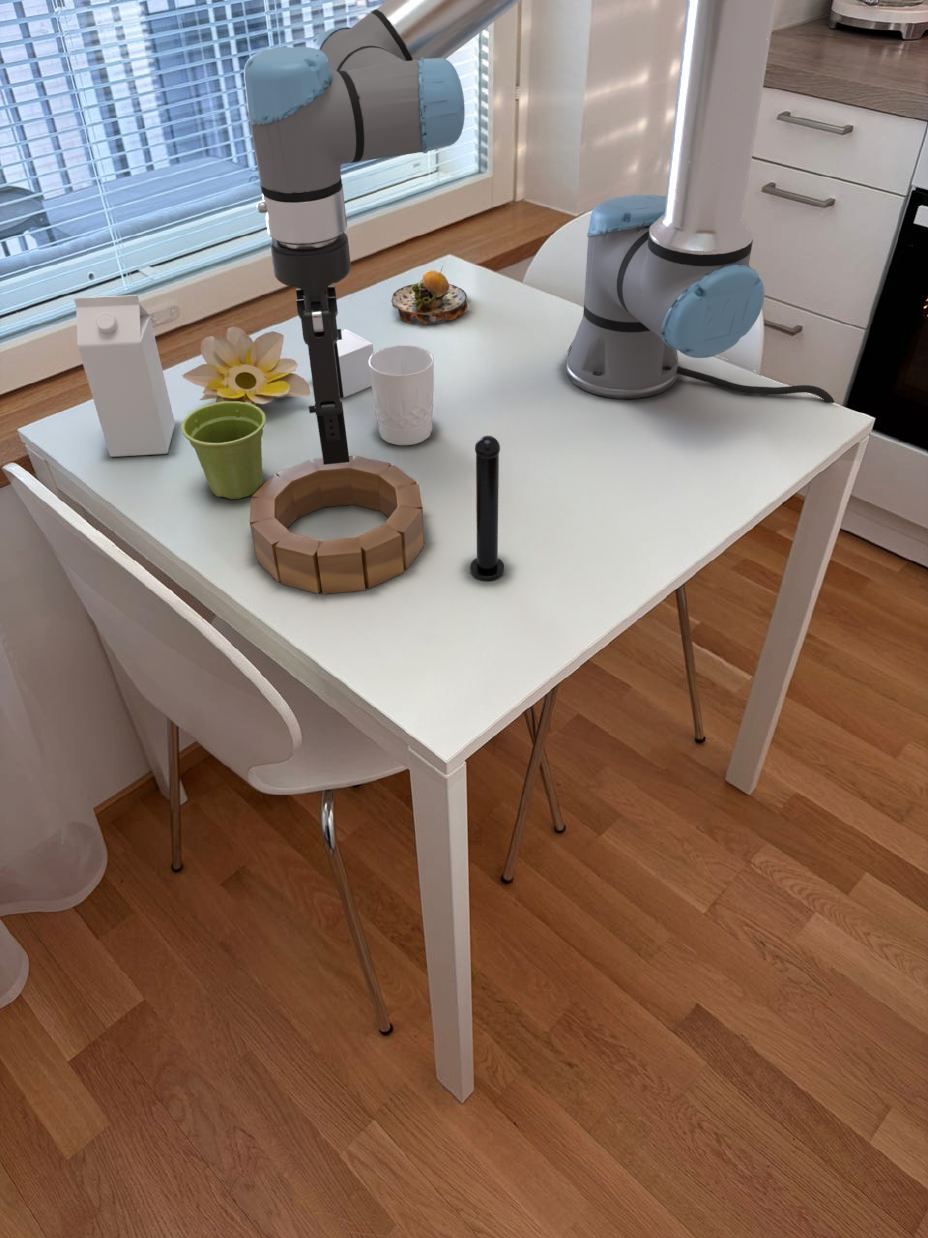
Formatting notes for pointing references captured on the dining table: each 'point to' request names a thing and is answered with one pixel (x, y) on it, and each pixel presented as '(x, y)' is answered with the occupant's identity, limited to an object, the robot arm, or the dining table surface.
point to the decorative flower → (246, 369)
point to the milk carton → (124, 374)
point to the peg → (487, 510)
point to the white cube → (354, 362)
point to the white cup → (403, 393)
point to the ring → (337, 559)
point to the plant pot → (228, 446)
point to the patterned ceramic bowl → (430, 299)
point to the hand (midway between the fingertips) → (334, 428)
